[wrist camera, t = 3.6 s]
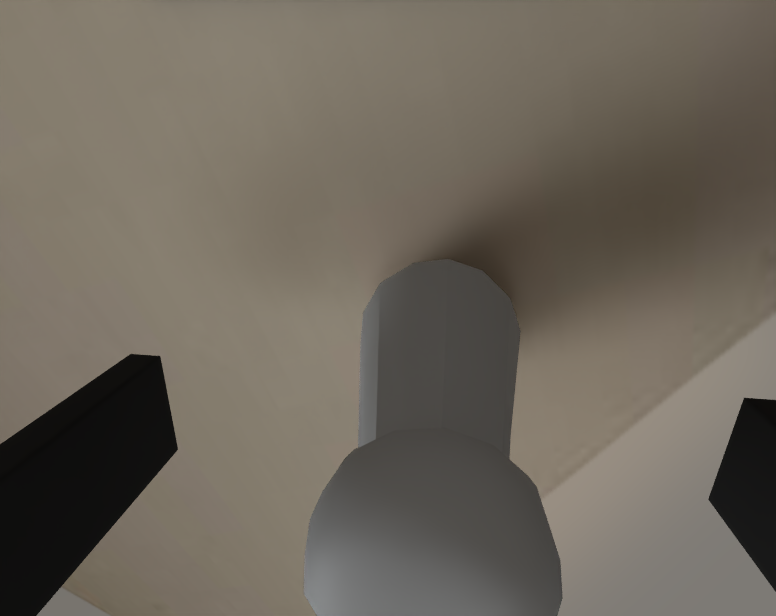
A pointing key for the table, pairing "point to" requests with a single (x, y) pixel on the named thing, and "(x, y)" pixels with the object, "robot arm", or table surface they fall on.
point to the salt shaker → (434, 464)
